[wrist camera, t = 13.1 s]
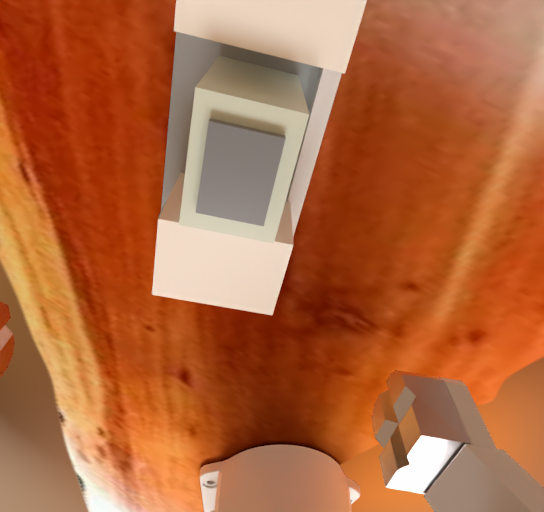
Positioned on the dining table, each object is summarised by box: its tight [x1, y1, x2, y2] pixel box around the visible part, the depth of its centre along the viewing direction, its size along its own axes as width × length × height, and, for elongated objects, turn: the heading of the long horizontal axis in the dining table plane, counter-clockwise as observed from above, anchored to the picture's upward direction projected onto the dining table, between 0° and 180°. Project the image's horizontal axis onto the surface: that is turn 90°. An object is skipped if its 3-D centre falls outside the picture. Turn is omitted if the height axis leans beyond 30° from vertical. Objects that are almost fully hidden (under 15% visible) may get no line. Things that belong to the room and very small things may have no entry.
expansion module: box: [179, 56, 309, 243], centre depth 20 cm, size 6×4×8 cm
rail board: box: [152, 0, 367, 315], centre depth 22 cm, size 22×9×8 cm, turn 167°
